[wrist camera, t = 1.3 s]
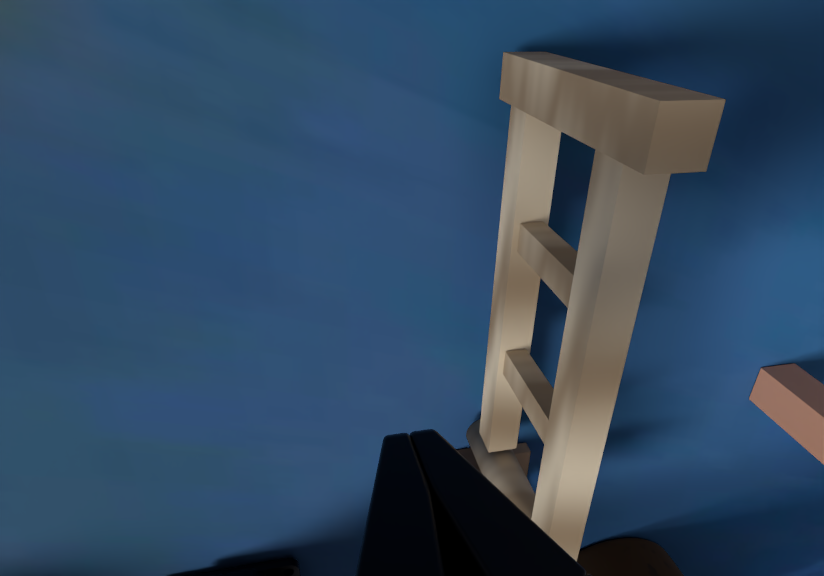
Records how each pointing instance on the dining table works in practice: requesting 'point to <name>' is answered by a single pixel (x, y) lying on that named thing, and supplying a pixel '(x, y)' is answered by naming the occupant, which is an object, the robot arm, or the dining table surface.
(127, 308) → the dining table surface
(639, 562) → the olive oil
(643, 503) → the dining table surface
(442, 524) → the robot arm
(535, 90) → the gate
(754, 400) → the post
